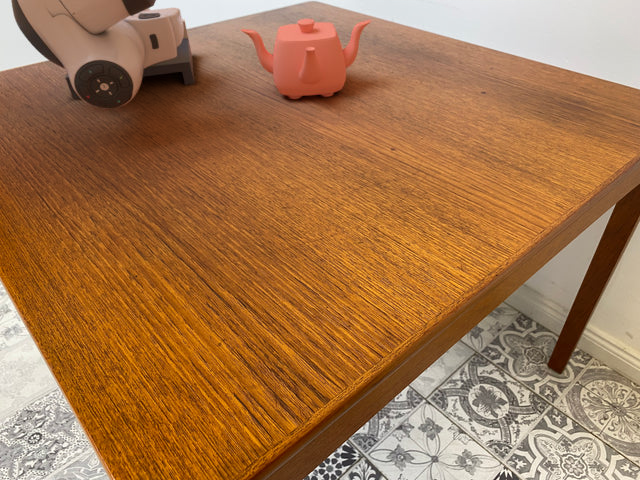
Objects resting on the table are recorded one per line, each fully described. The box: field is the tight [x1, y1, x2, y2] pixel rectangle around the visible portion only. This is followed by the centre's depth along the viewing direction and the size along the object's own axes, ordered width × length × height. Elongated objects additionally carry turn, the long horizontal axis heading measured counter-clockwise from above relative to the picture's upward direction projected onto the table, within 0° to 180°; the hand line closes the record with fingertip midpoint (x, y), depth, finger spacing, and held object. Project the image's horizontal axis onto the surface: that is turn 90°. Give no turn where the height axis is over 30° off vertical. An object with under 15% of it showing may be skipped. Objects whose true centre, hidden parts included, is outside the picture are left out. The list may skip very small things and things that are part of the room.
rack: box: [64, 19, 195, 100], centre depth 90 cm, size 20×13×7 cm, turn 102°
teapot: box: [240, 18, 372, 100], centre depth 82 cm, size 14×14×11 cm
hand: (121, 15), depth 88 cm, fingers open, 7 cm apart
